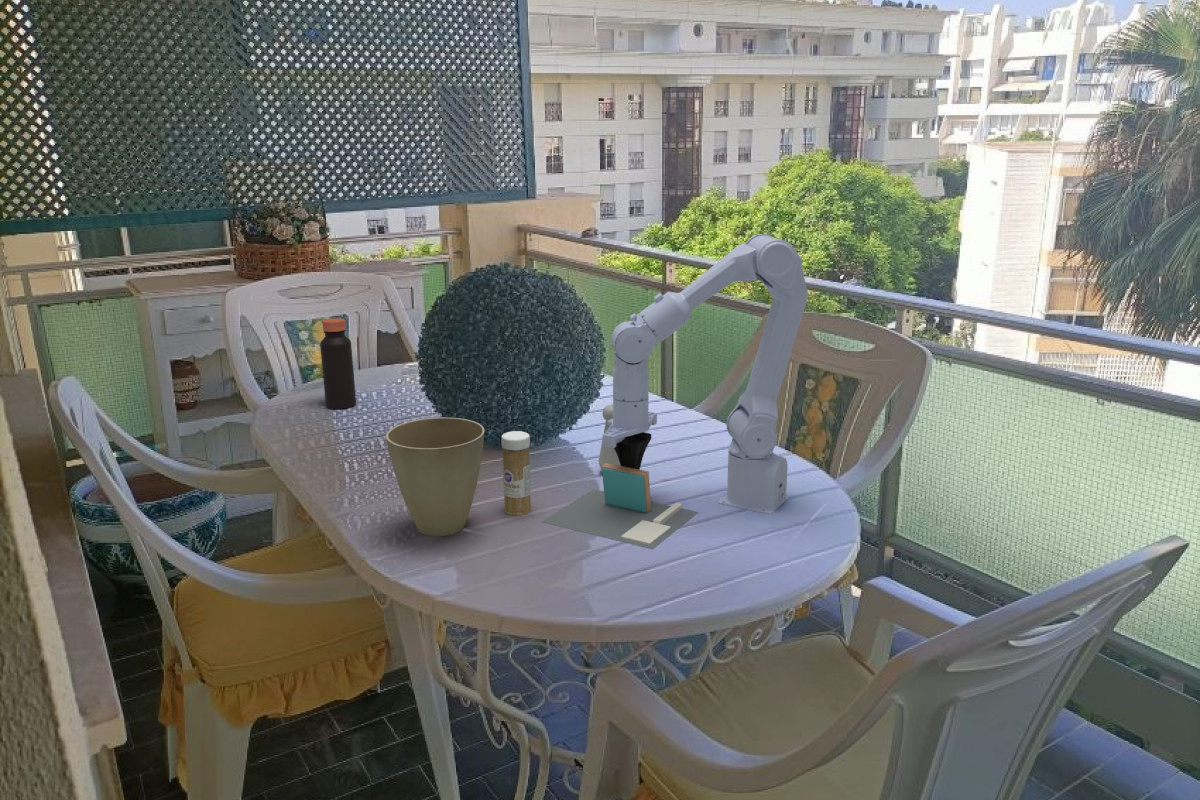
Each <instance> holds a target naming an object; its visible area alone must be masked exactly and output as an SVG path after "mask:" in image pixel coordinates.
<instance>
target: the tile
mask: <svg viewBox="0 0 1200 800" xmlns="http://www.w3.org/2000/svg"><path fill="white" fill-rule="evenodd" d="M601 472H602V482H603V491H604V496H605V504H610V505H614V506H618V507H623V508H627V509H632V510H636V511H641V512H645V513H648V512H649V511H650V510H651V502H652V499H651V488H650V473H649V471H647V470H642V469H640V470H639V469H634V468H629V467H624V466H619V465H614V464H609V463H605V464H604V465H603V466H602V470H601Z"/></svg>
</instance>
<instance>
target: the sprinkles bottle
mask: <svg viewBox="0 0 1200 800" xmlns="http://www.w3.org/2000/svg"><path fill="white" fill-rule="evenodd" d="M530 445H531V436H530V434H529V433H527V431H525V432H524V431H521V430H518V431H517V430H513V431H508V432H505V433H503V434H502V435H501V448H502V462H503V463H502V465H503V466H502V467H503V479H502V480H503V494H504V498H503V499H504V508H503V512H504V513H505V514H506V515H508V516H524V515H527V514H530V513H531V512H532V507H531V506H532V505H531V491H532V489H531V464H530V463H531V462H530Z"/></svg>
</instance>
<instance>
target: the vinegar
mask: <svg viewBox="0 0 1200 800" xmlns="http://www.w3.org/2000/svg"><path fill="white" fill-rule="evenodd" d="M321 324H322V331H323V334H324V337H323V339H321V341H320V343H319V347H320V348H319V350H320V358H321V369H322V378H323V386H324V387H323V389H324V399H325V400H324V401H325V406H326V408H327V409H330V408H332V409H331V410H344V409H343V408H346V409H350V408H349V407H351V408H353V407H355V406H356V405H357V398H356V397H357V394H356V383H355V374H354V373H355V372H354V363H353V362H354V361H353V351H352V350H353V348H352V341H351V339H349V337H347V335H345V332H346V319H344V318H338V317H337V318H333V317H332V318H326V319H324V320H322V322H321ZM354 405H355V406H354ZM352 406H353V407H352Z"/></svg>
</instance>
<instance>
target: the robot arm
mask: <svg viewBox="0 0 1200 800" xmlns="http://www.w3.org/2000/svg"><path fill="white" fill-rule="evenodd" d="M757 278H759V279H760V281H762V284H763V285H764V286H765V288H766V289H767V290H766V291H768V293H769V294H770V296H771V298H772V301H771V304H770V307H769V311H768V314H767V318H766V322H765V323H764V324H765V325H764V327H763V331H762V334H761V339H760V341H759V345H758V349H757V353H756V355H755V358H754V362H753V366H752V370H751V373H750V376H749V379H748V383H747V386H746V389H745V390H744V392H743V393H742V394H741V395H740V396H739V398H738V401H737V403H736V406H735V407H734V409H733V410H732V411H731V412H730V413H729V415H728V417H727V418H726V424H725V425H726V430H727V433H728V434H729V436H730V437H731V438H732V440H731V442H730V443H729V446H728V453H727V455H728V458H727V486H726V487H727V488H726V493H725V495H724V496H722V497H721V498H720V499H718V501H717V504H719V505H724V506H729V507H731V508H733V507H734V508H738V509H743V510H747V511H753V512H757V513H762V514H767V515H772V514H773V513H775V511H776V510H778V509H779V508H780V506H782V505H783V504H784V503H785V501H787V500H788V496H787V488H788V487H787V484H788V461H787V459H786V457H783V456H781V455H778V454H776V453H774V449H775V448H776V446H777V442H778V432H777V424H778V420H779V412H778V397H779V395H780V391H781V388H782V384H783V382H784V377H785V374H786V371H787V368H788V364H789V361H790V358H791V354H792V351H793V348H794V346H795V341H796V338H797V334H798V331H799V328H800V324H801V321H802V318H803V315H804V311H805V308H806V305H807V301H808V299H809V296H808V295H809V291H808V287H807V283H806V279H805V276H804V271H803V259H802V257H801V256H800V255H799V253H798V252H797V250H796V249H795V248H794V247H793V246H792V244H790V243H789V242H788V241H785V240H783V239H778V238H775V237H774V236H772V235H770V234H766V233H757V234H755V235H753V236H752V237H750V238H749V239H747V241H746V242H745V243H741V244H738V245H737V246H736V247H734V248H733V249H732V250H731V251H730V252H729V253H727V254H726V255H725V256H723V257H722V258H721V259H720V260H719V261H717V262H716V263H714V265H713V266H711V267H710V268H709V269H708V270H706V271H705V272H704V273H703V274H702V275H700V276H698V278H696V279H695V280H694V281H693V282H692V283H690V284H689V285H687V286H686V287H685V288H684V289H683V290H681V291H680V292H673V291H667V292H666V293H665V294H662V293H660V292H658V293H657V294H656V295H655V296H654V297H653V299H654V302H652V303H651V304H650V305H648V306H647V307H645V308H644V309H642V310H641V311H640V312H639V313H637V314H636V313H632V314H631V315H630V316H629V318H630V320H628V321H623V322H620V323H619V324H618V325H617V326H615V328H614V329H613V332H612V333H611V337H609V341H610V346H611V348H612V349H613V350H614V351H615V352H614V353H613V355H614V356H613V359H612V360H613V361H612V362H613V369H612V405H613V419H610V420H608V421H607V425H609V426H610V427H609V429H608V430H607V432H606V433H605V434H604V433H603V434H602V440H603V446H605V447H610V448H614V449H615V451H616V453H617V456H618V458H619V462H620V465H621V466H624V467H629V468H634V469H639V470H641V465H642V461H643V459H644V454H645V452H646V450H647V448H648V446H649V443H650V442H651V440H652V434H651V433H650V432H647V431H649V430H650V428H651V426H656V425H657V423H658V419H657V418H658V413H657V412H654V411H653V412H652V411H649V397H650V396H649V393H650V392H649V391H650V390H649V389H650V386H649V383H650V380H649V379H650V378H649V377H650V374H649V373H650V371H649V367H648V365H649V364H648V363H649V361H648V360H649V357H650V356H651V355H652V352H653V348H654V346H657V345H659V344H660V343H662V342H663V341H664V340H666V339H667V338H669V337H670V336H671V335H673V334H674V333H676V332H677V331H678V330H679V329H681V328H682V327H684V326H685V325H686V324H687V323H689V322H690V320H691V316H692V311H693V310H694V309H695V308H697V307H698V306H700V305H701V304H702V303H704V302H706V301H707V300H708V299H710V298H712V297H713V296H714V295H716V294H718V293H719V292H720V291H722V290H724V289H725V288H726V287H729V286H730V285H732V284H733V283H735V282H747V281H748V282H750V281H751V282H752V281H757V280H758V279H757Z"/></svg>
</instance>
